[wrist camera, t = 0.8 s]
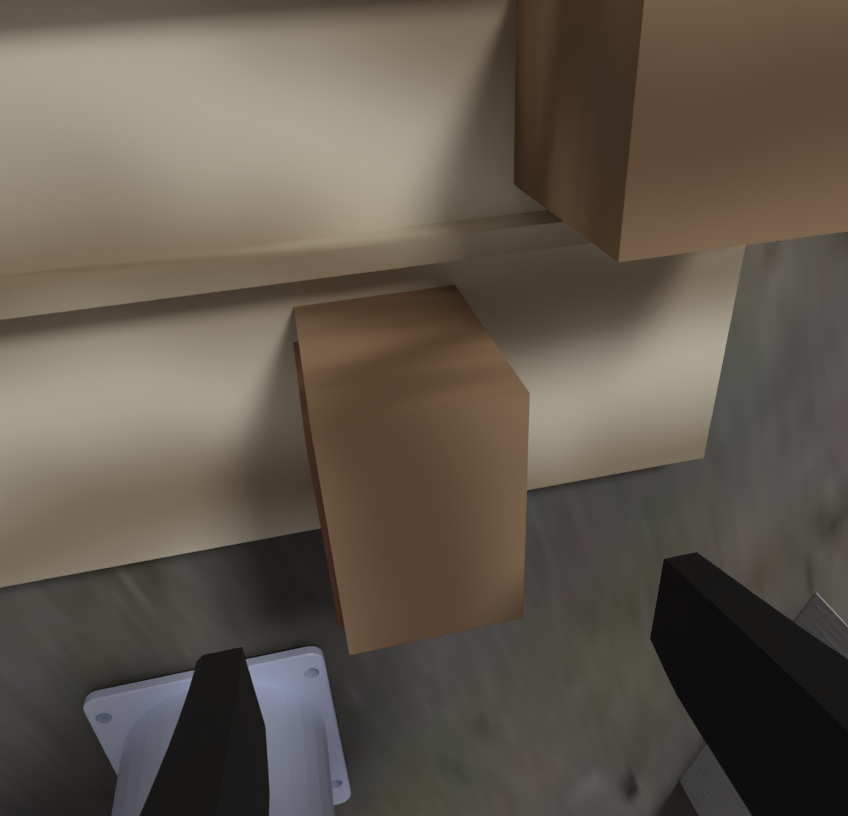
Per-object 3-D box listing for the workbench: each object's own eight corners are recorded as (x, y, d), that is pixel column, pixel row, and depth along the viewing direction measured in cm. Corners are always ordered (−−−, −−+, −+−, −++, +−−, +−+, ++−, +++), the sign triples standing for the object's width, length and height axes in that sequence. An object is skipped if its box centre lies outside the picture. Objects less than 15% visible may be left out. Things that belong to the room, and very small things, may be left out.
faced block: (745, 157, 17) (926, 220, 12) (513, 184, 16) (618, 262, 12) (782, -41, 15) (1018, -54, 10) (516, -23, 14) (646, -29, 9)
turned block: (455, 284, 17) (529, 393, 13) (461, 476, 20) (522, 618, 16) (287, 307, 17) (302, 430, 12) (321, 501, 20) (343, 656, 15)
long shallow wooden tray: (683, 437, 23) (725, 480, 21) (-257, 605, 19) (-316, 678, 17) (784, -137, 15) (867, -156, 13) (-815, -68, 11) (-1057, -80, 9)
